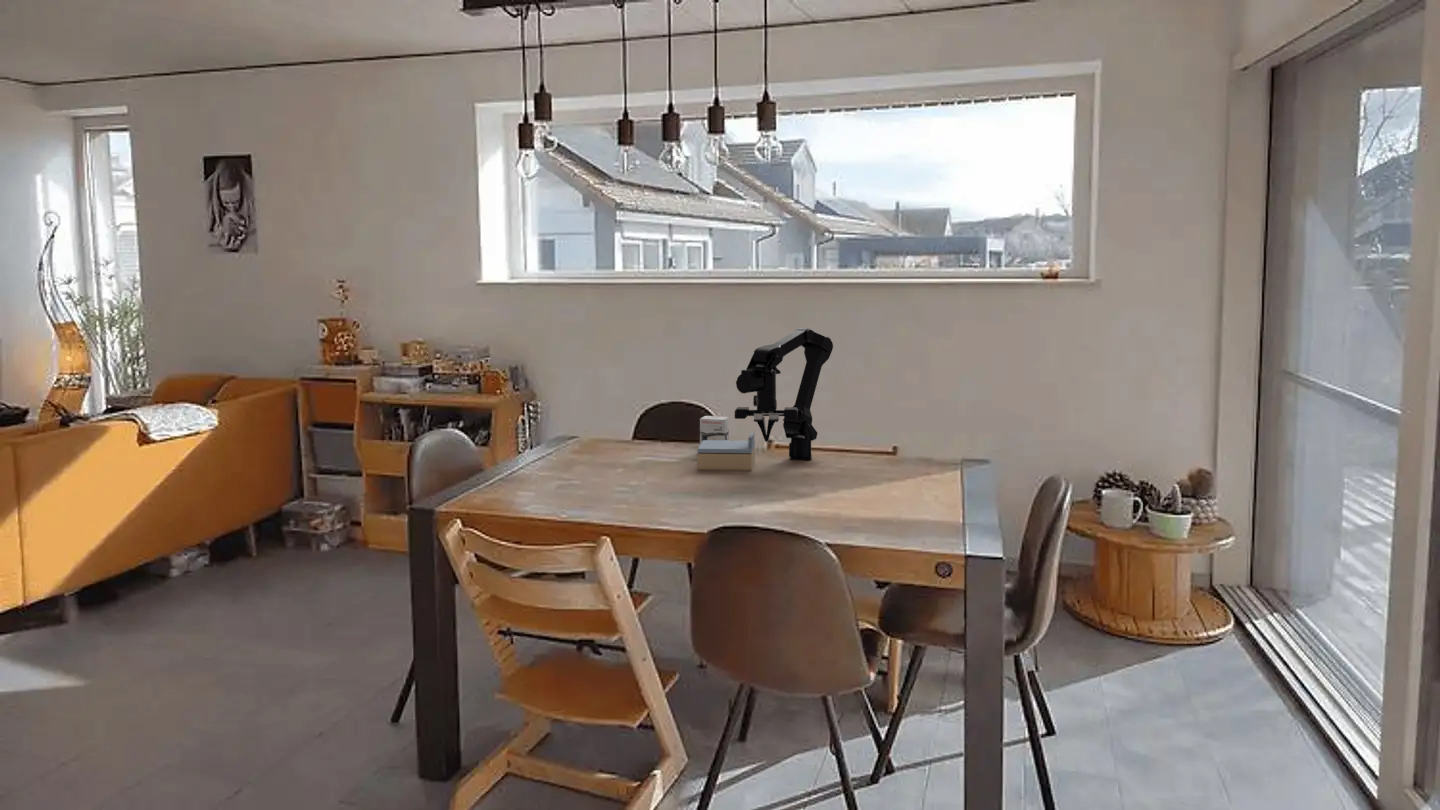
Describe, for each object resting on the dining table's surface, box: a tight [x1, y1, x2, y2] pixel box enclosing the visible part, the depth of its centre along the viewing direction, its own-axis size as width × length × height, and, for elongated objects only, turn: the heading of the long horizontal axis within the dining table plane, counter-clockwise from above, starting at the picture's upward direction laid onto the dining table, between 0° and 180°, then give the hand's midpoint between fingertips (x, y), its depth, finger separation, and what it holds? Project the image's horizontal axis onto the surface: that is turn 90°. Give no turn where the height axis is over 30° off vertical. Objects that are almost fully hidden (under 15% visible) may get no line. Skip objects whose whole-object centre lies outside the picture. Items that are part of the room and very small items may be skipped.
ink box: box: [699, 415, 730, 445], centre depth 335 cm, size 8×5×12 cm, turn 73°
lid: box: [697, 431, 756, 454], centre depth 315 cm, size 16×14×4 cm
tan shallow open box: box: [697, 445, 756, 472], centre depth 316 cm, size 16×14×5 cm
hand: (766, 441), depth 314 cm, fingers closed
